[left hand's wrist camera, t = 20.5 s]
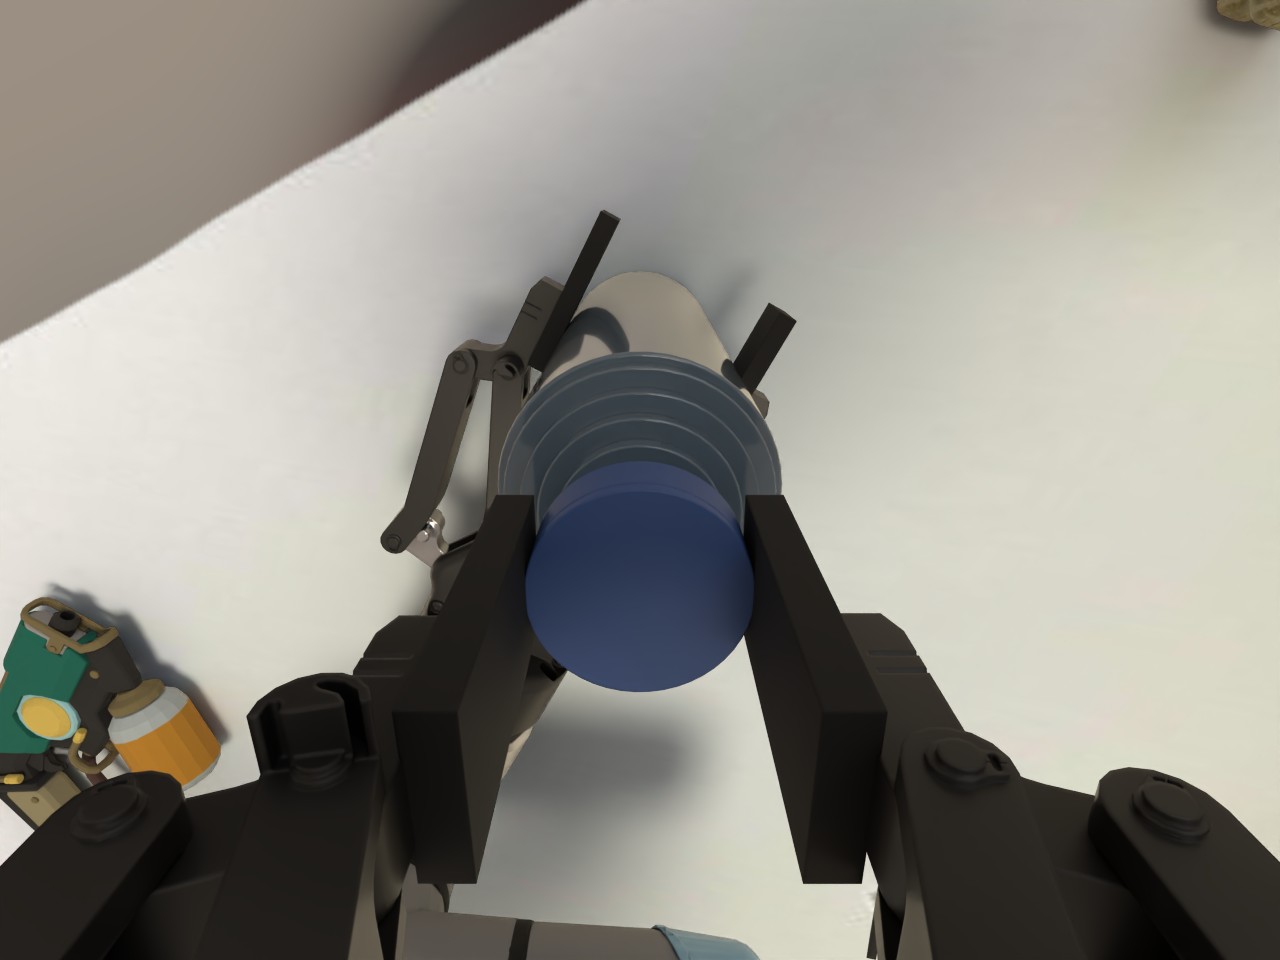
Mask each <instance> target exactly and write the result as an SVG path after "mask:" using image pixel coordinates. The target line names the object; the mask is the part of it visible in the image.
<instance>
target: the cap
mask: <svg viewBox="0 0 1280 960" xmlns="http://www.w3.org/2000/svg"><path fill="white" fill-rule="evenodd" d="M525 588H526V604H527V615H528V618H529V621H530V623H531V626H532V628H533V631H534V632H535V634H536V636H537V638H538V639H539V641H540V643H541V644H542V645H543V646H544V648H545V649H546V650H547V652H548V653H549V654H550V655H551V656H552V657H553V658H554V659H555V660H556V661H557V662H558V663H559V664H561V665H562V666H563V667H565V668H566V669H567V670H568V671H570V672H572V673H573V674H575V675H577V676H578V677H580V678H582V679H584V680H587V681H589V682H591V683H593V684H596V685H599V686H603V687H606V688H610V689H615V690H620V691H629V692H651V691H659V690H665V689H670V688H674V687H678V686H680V685H683V684H686V683H689V682H691V681H693V680H695V679H697V678H699V677H701V676H703V675H705V674H706V673H708V672H709V671H711V670H712V669H714V668H715V667H716V666H718V665H719V664H720V663H721V662H722V661H724V660H725V659H726V658H727V657H728V655H729V654H730V653H731V652H732V651H733V650H734V649H735V647H736V646H737V645H738V643H739V642H740V640H741V639H742V637H743V635H744V633H745V631H746V629H747V628H748V625H749V622H750V620H751V617H752V611H753V597H754V571H753V568H752V564H751V560H750V557H749V554H748V550H747V547H746V544H745V541H744V537H743V534H742V531H741V527H740V525H739V523H738V520H737V518H736V516H735V514H734V513H733V511H732V509H731V508H730V506H729V504H728V503H727V502H726V501H725V500H724V498H723V497H722V496H721V495H720V494H719V493H718V492H717V491H716V490H715V489H714V488H713V487H712V486H711V485H709V484H708V483H706V482H705V481H704V480H702V479H701V478H699V477H697V476H695V475H694V474H692V473H690V472H688V471H686V470H683V469H680V468H677V467H675V466H671V465H667V464H663V463H657V462H648V461H630V462H623V463H616V464H612V465H609V466H605V467H602V468H599V469H597V470H594V471H592V472H590V473H588V474H586V475H584V476H582V477H581V478H579V479H577V480H576V481H575V482H573V483H572V484H571V485H569V486H568V487H567V488H566V489H565V490H564V491H563V492H562V493H561V494H560V495H559V496H558V497H557V498H556V499H555V500H554V502H553V503H552V504H551V506H550V507H549V508H548V510H547V512H546V514H545V516H544V517H543V519H542V522H541V524H540V527H539V530H538V533H537V536H536V539H535V542H534V546H533V549H532V552H531V555H530V559H529V562H528V565H527V570H526V575H525Z"/></svg>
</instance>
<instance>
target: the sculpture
mask: <svg viewBox="0 0 1280 960" xmlns="http://www.w3.org/2000/svg"><path fill="white" fill-rule="evenodd" d="M1217 10H1218V12H1219V13H1220V14H1222V15H1223V16H1225V17H1228V18H1231V19H1233V20H1237V21H1242V22H1245V21H1252V20H1253V21H1254V22H1255V23H1257V24H1259V25H1261V26H1265V27H1269V28H1273V29H1276V30H1280V0H1217Z"/></svg>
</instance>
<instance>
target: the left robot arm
mask: <svg viewBox="0 0 1280 960" xmlns="http://www.w3.org/2000/svg"><path fill="white" fill-rule="evenodd" d="M743 537H744V541H745V544H746V547H747V550H748V554H749V557H750V560H751V564H752V568H753V571H754V597H753V611H752V617H751V620H750V622H749V625H748V628H747V629H746V631H745V633H744V637H745V641H746V645H747V650H748V654H749V658H750V662H751V666H752V671H753V675H754V679H755V683H756V687H757V692H758V696H759V700H760V704H761V709H762V713H763V717H764V721H765V725H766V730H767V734H768V738H769V742H770V746H771V751H772V755H773V759H774V763H775V767H776V772H777V776H778V780H779V784H780V789H781V793H782V797H783V801H784V805H785V810H786V814H787V818H788V822H789V826H790V831H791V835H792V839H793V843H794V847H795V852H796V856H797V860H798V864H799V869H800V873H801V877H802V881H803V884H862V879H863V872H864V866H865V859H866V852H867V854H868V857H869V860H870V863H871V866H872V868H873V871H874V874H875V877H876V880H877V883H878V889H877V896H876V902H875V908H874V914H873V920H872V926H871V932H870V938H869V945H868V952H867V958H870V959H875V960H876V956H877V957H878V960H1280V862H1279V861H1278V860H1277V859H1276V858H1275V857H1274V856H1273V855H1272V854H1271V853H1270V852H1269V851H1268V850H1267V849H1266V848H1265V847H1264V846H1263V845H1262V844H1261V843H1260V842H1259V841H1258V840H1257V839H1256V838H1255V837H1254V836H1253V835H1252V834H1251V833H1250V832H1249V831H1248V830H1247V829H1246V828H1245V827H1244V826H1243V825H1242V824H1241V823H1240V822H1239V821H1238V820H1237V819H1236V818H1235V817H1234V816H1233V814H1232V813H1231V812H1230V811H1228V810H1227V809H1226V808H1225V807H1223V806H1222V805H1221V804H1220V803H1218V802H1217V801H1216V800H1215V799H1213V798H1212V797H1211V796H1210V795H1209V794H1207V793H1206V792H1204V791H1202V790H1200V789H1198V788H1196V787H1194V786H1193V785H1191V784H1189V783H1187V782H1185V781H1183V780H1181V779H1179V778H1176V777H1173V776H1170V775H1167V774H1164V773H1161V772H1158V771H1155V770H1149V769H1140V768H1131V767H1127V768H1122V769H1117V770H1112V771H1109V772H1108V773H1107V774H1106V775H1105V776H1104V777H1103V778H1102V779H1101V780H1100V781H1099V784H1098V787H1097V791H1096V794H1095V796H1094V795H1089V794H1085V793H1081V792H1076V791H1072V790H1068V789H1063V788H1059V787H1055V786H1050V785H1046V784H1042V783H1039V782H1036V781H1032V780H1029V779H1026V778H1023V777H1021V776H1020V773H1019V772H1018V770H1017V769H1016V767H1015V766H1014V764H1013V762H1012V761H1011V759H1010V758H1009V757H1008V756H1007V755H1006V754H1005V753H1003V752H1002V751H1001V750H1000V749H999V748H997V747H996V746H995V745H994V744H992V743H991V742H989V741H987V740H984V739H982V738H980V737H978V736H976V735H974V734H972V733H970V732H966V731H964V729H963V727H962V726H961V724H960V722H959V721H958V719H957V717H956V716H955V714H954V712H953V711H952V709H951V708H950V706H949V704H948V703H947V701H946V699H945V698H944V696H943V694H942V693H941V691H940V689H939V688H938V686H937V685H936V683H935V681H934V680H933V678H932V676H931V675H930V673H927V668H926V666H925V665H924V663H923V662H922V660H921V658H920V657H919V656H917V654H916V650H915V648H914V647H913V645H912V643H911V642H910V640H909V639H908V637H907V635H906V634H905V632H904V631H903V630H902V629H901V628H899V627H898V626H897V625H895V624H894V623H893V622H891V621H890V620H889V619H887V618H886V617H885V616H883V615H882V614H881V613H840V611H839V609H838V607H837V605H836V603H835V601H834V599H833V597H832V595H831V593H830V591H829V588H828V586H827V584H826V582H825V580H824V578H823V576H822V574H821V572H820V570H819V568H818V566H817V564H816V561H815V559H814V557H813V555H812V553H811V551H810V549H809V547H808V545H807V543H806V541H805V539H804V537H803V535H802V532H801V530H800V528H799V526H798V524H797V522H796V520H795V518H794V516H793V514H792V512H791V510H790V508H789V505H788V503H787V501H786V499H785V497H784V495H745V512H744V530H743ZM535 539H536V521H535V503H534V495H496V496H495V498H494V500H493V502H492V504H491V507H490V509H489V511H488V513H487V515H486V517H485V519H484V521H483V523H482V525H481V527H480V529H479V531H478V533H477V536H476V538H475V540H474V542H473V544H472V546H471V548H470V550H469V552H468V554H467V556H466V558H465V560H464V562H463V565H462V567H461V569H460V571H459V573H458V575H457V577H456V579H455V581H454V583H453V585H452V587H451V589H450V592H449V594H448V596H447V598H446V600H445V602H444V604H443V606H442V608H441V610H440V612H439V614H438V616H398V617H397V618H395V619H394V620H393V621H391V622H390V623H389V624H388V625H386V626H385V627H384V628H382V629H381V630H380V631H378V632H377V633H376V634H375V636H374V637H373V639H372V641H371V642H370V644H369V646H368V647H367V649H366V651H365V652H364V654H363V655H364V656H363V658H361V659H360V660H359V662H358V664H357V665H356V667H355V669H354V670H353V675H348V674H344V673H319V674H314V675H310V676H306V677H301V678H297V679H295V680H293V681H290V682H288V683H286V684H284V685H281V686H279V687H277V688H275V689H273V690H272V691H271V692H269V693H268V694H267V695H265V696H264V697H263V698H261V699H260V700H258V701H257V702H256V704H255V705H254V707H253V708H252V709H251V711H250V712H249V713H248V715H247V721H248V725H249V729H250V733H251V737H252V741H253V745H254V749H255V754H256V758H257V762H258V766H259V770H260V777H259V780H256V781H254V782H250V783H247V784H244V785H241V786H237V787H233V788H229V789H225V790H220V791H216V792H212V793H208V794H203V795H199V796H195V797H190V798H186V799H185V796H184V793H183V789H182V786H181V783H180V782H179V781H177V780H176V779H175V778H174V777H173V776H172V775H171V774H168V773H163V772H158V771H153V770H149V771H141V772H132V773H126V774H123V775H120V776H117V777H114V778H111V779H108V780H105V781H102V782H99V783H97V784H96V785H94V786H92V787H90V788H88V789H86V790H84V791H83V792H81V793H79V794H77V795H75V796H73V797H72V798H71V799H70V800H68V801H67V802H66V803H65V804H64V805H62V806H61V807H60V808H59V809H57V810H56V811H55V812H54V813H52V814H51V815H50V816H49V817H48V818H47V819H46V820H45V821H44V822H43V823H42V824H41V825H40V826H39V827H38V828H37V829H36V830H35V831H34V832H33V833H32V835H31V836H30V837H29V838H28V839H27V840H26V841H25V842H24V843H23V844H22V845H21V846H20V847H19V848H18V849H17V850H16V851H15V852H14V853H13V854H12V855H11V856H10V857H9V858H8V859H7V860H6V861H5V862H4V863H3V864H2V865H1V866H0V960H402V959H403V948H404V936H405V925H406V909H405V902H404V896H403V889H402V885H403V882H404V879H405V876H406V873H407V871H408V868H409V865H410V862H411V859H412V856H414V862H415V869H416V875H417V882H418V884H476V883H477V879H478V875H479V871H480V867H481V862H482V858H483V854H484V850H485V845H486V841H487V837H488V833H489V829H490V824H491V820H492V816H493V812H494V808H495V803H496V799H497V795H498V791H499V787H500V782H501V778H502V774H503V770H504V765H505V761H506V757H507V753H508V749H509V744H510V740H511V736H512V732H513V728H514V723H515V719H516V715H517V711H518V707H519V702H520V698H521V694H522V690H523V685H524V681H525V677H526V673H527V669H528V664H529V660H530V656H531V652H532V648H533V643H534V639H535V635H536V634H535V632H534V631H533V628H532V626H531V623H530V621H529V618H528V615H527V604H526V588H525V575H526V570H527V565H528V562H529V559H530V555H531V552H532V549H533V546H534V542H535Z"/></svg>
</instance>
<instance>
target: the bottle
mask: <svg viewBox="0 0 1280 960" xmlns="http://www.w3.org/2000/svg"><path fill="white" fill-rule="evenodd" d="M630 461H648V462H657V463H663V464H667V465H671V466H675V467H677V468H680V469H683V470H686V471H688V472H690V473H692V474H694V475H695V476H697V477H699V478H701V479H702V480H704V481H705V482H706V483H708V484H709V485H711V486H712V487H713V488H714V489H715V490H716V491H717V492H718V493H719V494H720V495H721V496H722V497H723V498H724V500H725V501H726V502H727V503H728V504H729V506H730V508H731V509H732V511H733V513H734V514H735V516H736V518H737V520H738V523H739V525H740V527H741V531H742V534H743V530H744V512H745V495H781V492H782V475H781V464H780V460H779V455H778V450H777V447H776V444H775V442H774V439H773V436H772V433H771V431H770V429H769V428H768V426H767V424H766V422H765V420H764V418H763V416H762V415H761V413H760V411H759V409H758V407H757V406H756V404H755V402H754V400H753V399H752V397H751V395H750V393H749V391H748V390H747V388H746V386H745V384H744V383H743V381H742V379H741V377H740V375H739V374H738V372H737V370H736V368H735V366H734V365H733V363H732V361H731V359H730V358H729V356H728V354H727V352H726V350H725V349H724V347H723V345H722V343H721V341H720V340H719V338H718V336H717V334H716V333H715V331H714V329H713V327H712V325H711V324H710V322H709V320H708V318H707V317H706V315H705V313H704V311H703V309H702V308H701V306H700V304H699V303H698V301H697V300H696V299H695V297H694V296H693V295H692V294H691V293H690V292H689V291H688V290H687V289H686V288H685V287H683V286H682V285H681V284H680V283H678V282H676V281H675V280H673V279H671V278H669V277H666V276H664V275H661V274H657V273H653V272H645V271H634V272H627V273H623V274H619V275H616V276H614V277H611V278H609V279H607V280H605V281H604V282H602V283H600V284H599V285H598V286H596V287H595V288H594V289H593V290H592V291H591V292H590V293H589V294H588V295H587V296H586V297H585V298H584V300H583V301H582V303H581V304H580V306H579V308H578V309H577V311H576V313H575V315H574V316H573V318H572V320H571V322H570V323H569V325H568V327H567V329H566V331H565V332H564V334H563V336H562V338H561V339H560V341H559V343H558V345H557V347H556V348H555V350H554V352H553V354H552V355H551V357H550V359H549V361H548V363H547V364H546V366H545V368H544V370H543V371H542V373H541V375H540V377H539V379H538V380H537V382H536V384H535V386H534V387H533V389H532V391H531V393H530V395H529V396H528V398H527V400H526V402H525V403H524V405H523V407H522V409H521V411H520V412H519V414H518V416H517V418H516V420H515V421H514V423H513V425H512V427H511V429H510V431H509V433H508V435H507V438H506V441H505V444H504V446H503V449H502V454H501V458H500V463H499V471H498V495H534V503H535V521H536V536H537V533H538V530H539V527H540V524H541V522H542V519H543V517H544V516H545V514H546V512H547V510H548V508H549V507H550V506H551V504H552V503H553V502H554V500H555V499H556V498H557V497H558V496H559V495H560V494H561V493H562V492H563V491H564V490H565V489H566V488H567V487H568V486H569V485H571V484H572V483H573V482H575V481H576V480H577V479H579V478H581V477H582V476H584V475H586V474H588V473H590V472H592V471H594V470H597V469H599V468H602V467H605V466H609V465H612V464H616V463H623V462H630Z"/></svg>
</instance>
